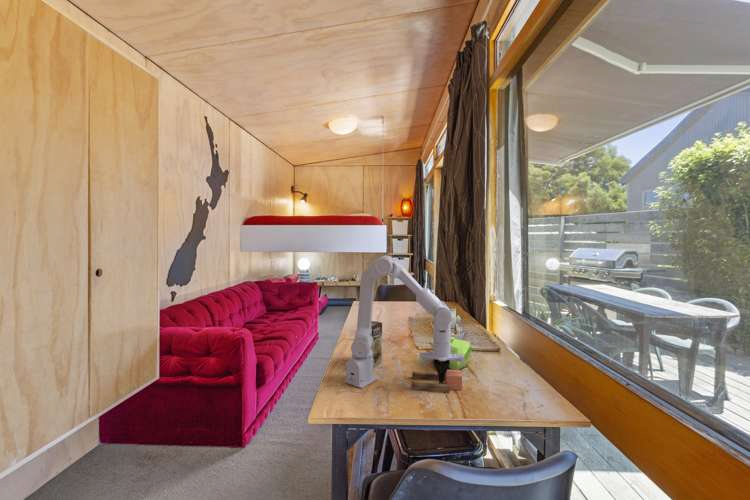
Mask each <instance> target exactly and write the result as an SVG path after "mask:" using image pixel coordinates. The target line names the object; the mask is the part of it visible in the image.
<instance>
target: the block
mask: <svg viewBox="0 0 750 500" xmlns="http://www.w3.org/2000/svg"><path fill="white" fill-rule="evenodd" d="M444 382H445V383H444V384H448V385H449V390H453V391H454V390H455V391H463V375H462V371H461V369H459V370H451V369H449V368H448V369H447V371H446V374H445V381H444Z"/></svg>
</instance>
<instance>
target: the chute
mask: <svg viewBox="0 0 750 500" xmlns="http://www.w3.org/2000/svg"><path fill="white" fill-rule="evenodd" d="M411 379H413V380H424V381H425V380H427V381H439V377H438V373H437V372H427V371H412V370H411ZM443 382H445V377H444V381H443ZM410 384H411V387H410V388H411V391H419V392H420V391H421V392H433V393H447V394H448V393H450V389H449V385H448V384H445V383H434V382H433V383H431V382H429V383H428V382H417V381H411V383H410Z"/></svg>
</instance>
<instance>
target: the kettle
mask: <svg viewBox="0 0 750 500" xmlns="http://www.w3.org/2000/svg"><path fill="white" fill-rule="evenodd" d="M428 344H429V345H430V346H431V347H432V348H433V339H432V340H430V341H429V343H428ZM470 344H471V342H470V341H467V340H463V339H458V338H456V337H453V336H451V342H450V353H453V354H459V355H464V363H462V362H458V361H450V366H449V368H448V369H450V370H461V369H462V368H464V367H465V366H467V365H469V364H470V357H471V354H472V351H473V350H474V349H477V346H473V345H470ZM432 363H433V364H434V361H433V360H432Z"/></svg>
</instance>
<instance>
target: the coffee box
mask: <svg viewBox="0 0 750 500" xmlns="http://www.w3.org/2000/svg"><path fill="white" fill-rule="evenodd" d="M371 328H372V337H373V345H372V346H371V350H372V352H373V369H375V368H376V367H378V366H380V365H381V364H382V363H383V322H380V321H374V320H372V321H371Z"/></svg>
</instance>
